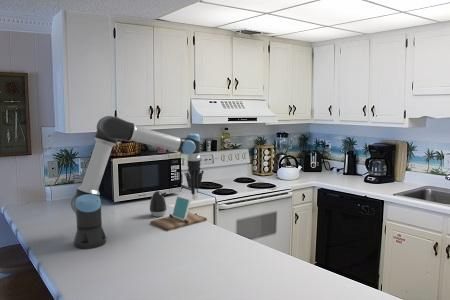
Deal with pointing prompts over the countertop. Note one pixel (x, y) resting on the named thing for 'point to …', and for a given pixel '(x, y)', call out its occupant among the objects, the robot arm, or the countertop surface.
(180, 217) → the tile
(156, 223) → the walnut board
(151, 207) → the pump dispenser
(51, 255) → the countertop surface
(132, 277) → the countertop surface
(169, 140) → the robot arm
